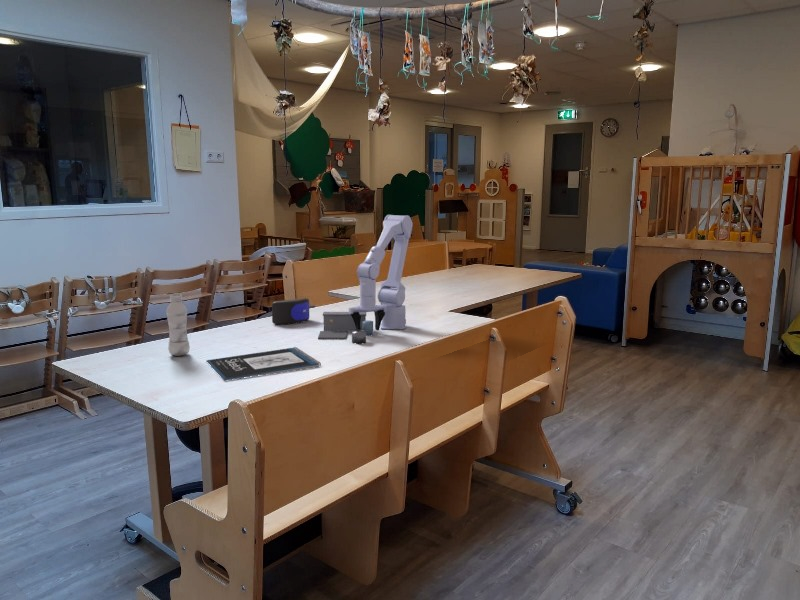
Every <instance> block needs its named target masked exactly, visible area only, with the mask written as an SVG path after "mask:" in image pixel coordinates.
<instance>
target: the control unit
mask: <svg viewBox="0 0 800 600" xmlns="http://www.w3.org/2000/svg"><path fill="white" fill-rule="evenodd" d="M359 314H360V315H361V321H360V330H363V321H367V319H366V317H367V312H362V313H359ZM322 317H323V331H347V332H352V331H353V330H356V326H355V323H354V320H353V318H352V316H351V314H350V313H349V311H323V312H322Z"/></svg>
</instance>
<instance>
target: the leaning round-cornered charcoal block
mask: <svg viewBox="0 0 800 600" xmlns="http://www.w3.org/2000/svg"><path fill="white" fill-rule="evenodd" d="M271 319H272V320H271V321H272V324H274V325H275V326H279V325H280V326H282V325H283V326H285V325H296V324H300V323H301V322H302V323H305V322H308V321H309V320H310V299H309V298H307V297H305V298H304V297H303V298H295V299H285V300H284V299H283V300H275V301H273V302H272V304H271Z"/></svg>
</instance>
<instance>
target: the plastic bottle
mask: <svg viewBox="0 0 800 600" xmlns="http://www.w3.org/2000/svg"><path fill="white" fill-rule="evenodd" d="M182 301H183V295H182V294H181V293H172V294H169V305H168V306H167V307H166V310H165V313H166V318H167V323H168V330H169V335H168V337H169V340H168V341H169V342H168V352H169V354H170V355H171V356H173V357H182V356H185V355H188V354H189V353H190V342H189V338H188V333H187V332H188V331H187V319H188V309H187V307H186V305H185V304H184V303H183V302H182Z"/></svg>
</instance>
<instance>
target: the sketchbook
mask: <svg viewBox="0 0 800 600" xmlns="http://www.w3.org/2000/svg"><path fill="white" fill-rule="evenodd" d="M207 362H208V363H209V364H210V365H211V366H210V365H209V364H208V363H207ZM206 363H207V364H208V365H209V366H210V368H213V369H214V370H215V371H216V372H217V373H218V374H219V375H220V376H221V377H220V376H219V375H218V374H217V373H216V372H215V371H214V370H213V369H212V370H213V371H214V372H215V373H216V374H217V375H218V376H219V377H220V378H221V379H222V380H223V382H227V381H226V380H231V381H233V380H232V379H237V380H239V379H238V378H244V377H250V376H257V377H259V376H258V375H263V376H267V375H266V374H270V375H275V374H274V373H276V374H281V372H283V373H288V372H287V371H289V372H294V371H293V370H296V371H301V370H300V369H302V370H307V369H306V368H309V369H314V368H313V367H315V368H320V366H322V363H321V362H320V361H319V360H317V359H316V358H314V357H312V356H311V355H309V353H306V352H304V351H303V350H302V349H299V347H296V346H293V347H288V348H283V349H281V348H280V349H274V350H269V351H268V350H267V351H259V352H254V353H247V354H241V355H240V354H239V355H234V356H226V357H220V358H213V359H206ZM319 365H320V366H319ZM250 378H251V377H250ZM244 379H245V378H244Z"/></svg>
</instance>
